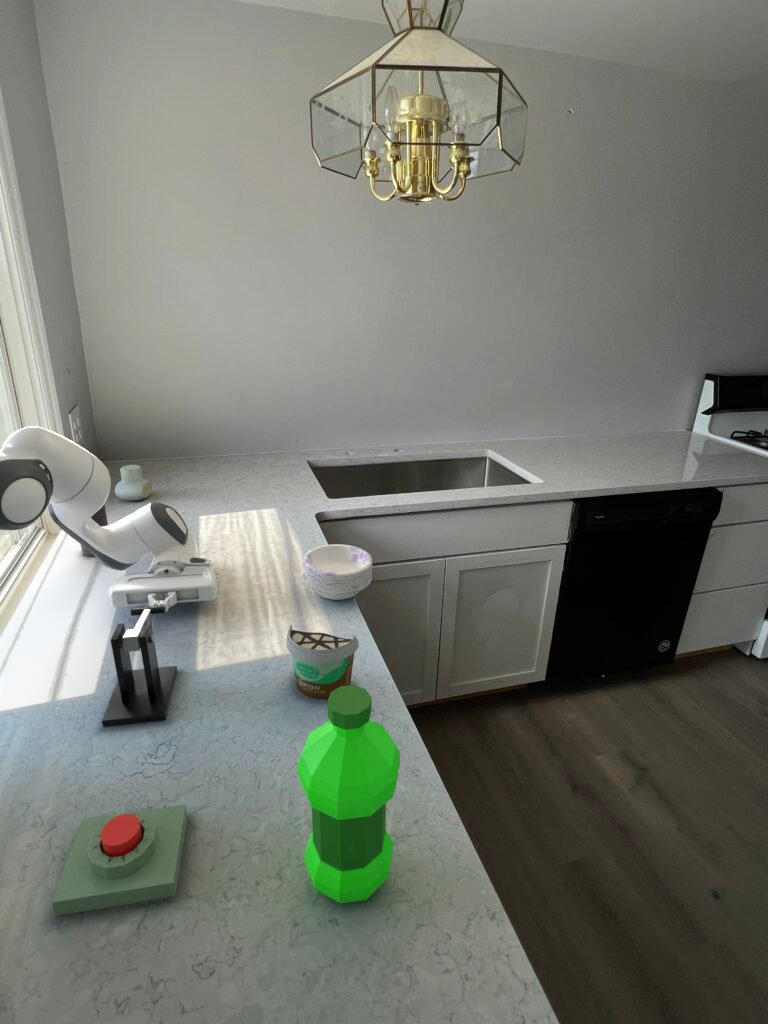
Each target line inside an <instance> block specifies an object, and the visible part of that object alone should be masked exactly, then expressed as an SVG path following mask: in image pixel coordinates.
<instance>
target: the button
mask: <svg viewBox="0 0 768 1024" xmlns="http://www.w3.org/2000/svg"><path fill="white" fill-rule="evenodd" d="M141 837H142V831H141V826H140V821H139V819H138V817H137V816H135V815H133V814H122V815H119V816H116V817H114V818H113V819H111V820H110V821H109V822H108V823H107V824H106V825H105V826H104V828H103V830H102V832H101V841H102V845H103V849H104V851H105V853H106V854H107V855H109V856H113V857H118V856H122V855H125V854H127V853H129V852H131V851H132V850H133V849H134V848H135V847H136V846H137V845H138V844H139V842H140V840H141Z"/></svg>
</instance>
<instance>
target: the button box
mask: <svg viewBox="0 0 768 1024" xmlns="http://www.w3.org/2000/svg"><path fill="white" fill-rule="evenodd" d="M122 814H133V815H135V816H137V817H138V819H139V821H140V826H141V831H142V837H141V840H140V842H139V844H138V845H137V846H136V847H135V848H134V849H133V850H132V851H131V852H129V853H127V854H125V855H122V856H118V857H113V856H109V855H107V854H106V853H105V851H104V849H103V845H102V841H101V832H102V830H103V828H104V826H105V825H106V824H107V823H108V822H109V821H110V820H111V819H113V818H114V817H116V816H119V815H122ZM188 818H189V817H188V810H187V804H178V805H172V806H171V805H170V806H165V807H157V808H150V809H144V810H143V809H142V810H133V811H124V812H120V813H114V814H106V815H99V816H91V817H84V818H81V819H80V821H79V824H78V827H77V830H76V833H75V836H74V839H73V841H72V844H71V847H70V850H69V852H68V855H67V859H66V861H65V863H64V867H63V870H62V872H61V876H60V878H59V881H58V884H57V887H56V890H55V893H54V896H53V899H52V901H51V904H52V908H53V911H54V914H55V917H59V916H65V915H71V914H77V913H83V912H88V911H94V910H100V909H107V908H113V907H119V906H125V905H131V904H137V903H143V902H149V901H156V900H160V899H161V900H162V899H166V898H172V897H176V896H177V895H176V894H177V888H178V881H179V876H180V869H181V862H182V856H183V851H184V850H183V849H184V844H185V842H184V841H185V836H186V831H187V824H188Z"/></svg>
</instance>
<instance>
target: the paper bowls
mask: <svg viewBox="0 0 768 1024" xmlns="http://www.w3.org/2000/svg"><path fill="white" fill-rule="evenodd" d="M372 578H373V557H372V555H371V554H370V553H369V552H367V551H366V550H365V549H363V548H360V547H359V546H354V545H349V544H343V543H342V544H341V543H339V544H338V543H336V544H335V543H333V544H332V543H331V544H324V545H320V546H316V547H313V548H312V549H310V550H308V551H307V552H306V553H305V554H304V555H303V557H302V580H303V582H304V584H305V585H306V586H307V587H308V588H310V589H312V590H313V591H314V592H315V593H316V594H317V595H318V596H320V597H322V598H324V599H327V600H333V601H334V600H335V601H341V600H347V599H351V598H353V597H354V596H355V597H356V595H358V594H359V593H360V592H361V591H363V590H365V589H366V588H368V587H369V585H371V582H372Z"/></svg>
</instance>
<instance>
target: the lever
mask: <svg viewBox="0 0 768 1024" xmlns="http://www.w3.org/2000/svg"><path fill="white" fill-rule="evenodd" d="M166 613H167V612H166V608H165V606H163V607H150V606H149V607H140V608H131V609H130V616H131V617H135V616H136V617H137V616H140V617H139V618H138V621H137V622H136V623H135V626H134V627H133V628H132V629H131V628H130V629H126V630H125V631H126V632H125V634H124V636H123V637H122V639H123V647H124V652H129V653H130V652H138V651H141V648H140V641H139V636H140V633H141V630H142V628H143V625H144V622H146V621H150V618H151V616H152V615H161V614H162V615H163V614H166Z"/></svg>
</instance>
